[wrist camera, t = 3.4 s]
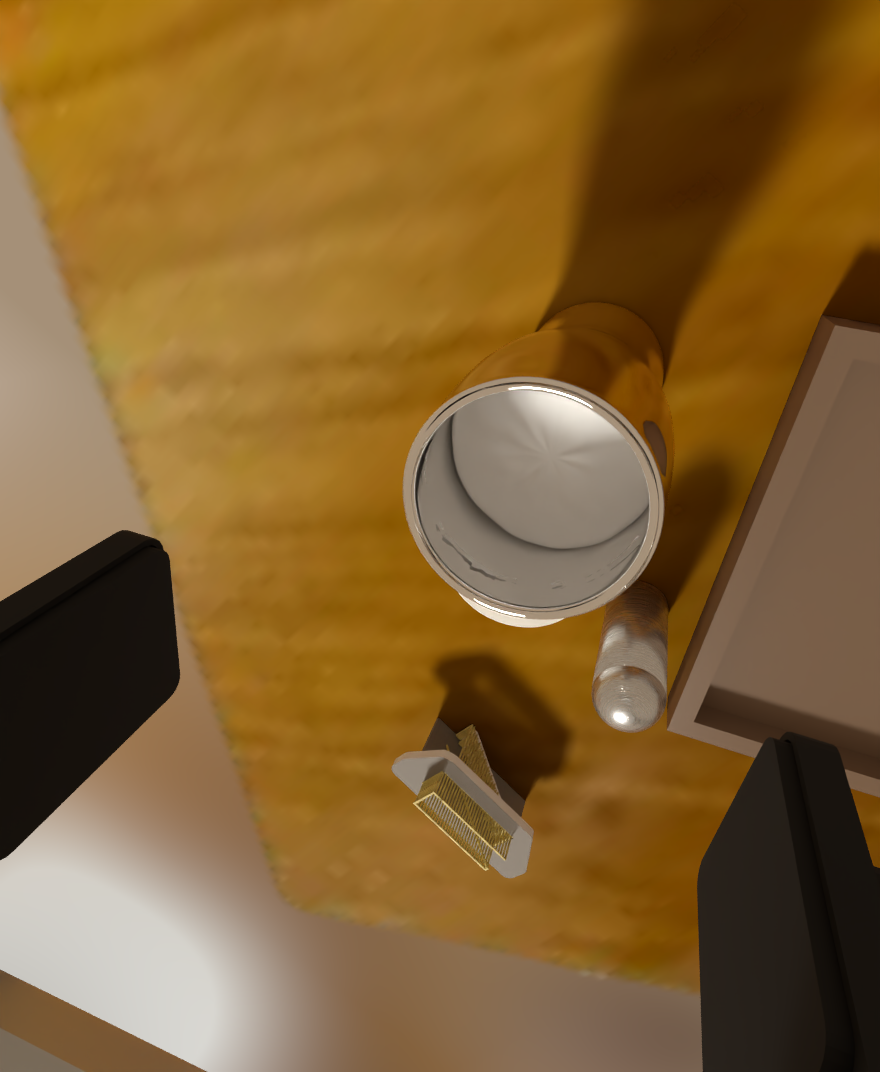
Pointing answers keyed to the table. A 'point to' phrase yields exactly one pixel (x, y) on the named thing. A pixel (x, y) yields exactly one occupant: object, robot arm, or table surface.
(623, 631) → the salt shaker
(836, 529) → the tray
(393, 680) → the table surface
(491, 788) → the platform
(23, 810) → the robot arm
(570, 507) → the silver metal tumbler
